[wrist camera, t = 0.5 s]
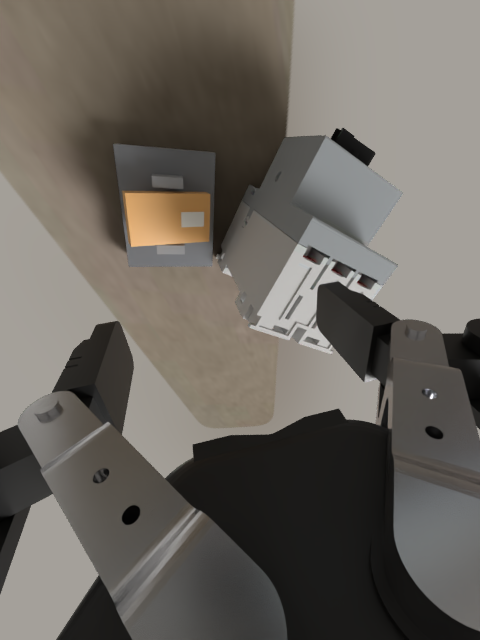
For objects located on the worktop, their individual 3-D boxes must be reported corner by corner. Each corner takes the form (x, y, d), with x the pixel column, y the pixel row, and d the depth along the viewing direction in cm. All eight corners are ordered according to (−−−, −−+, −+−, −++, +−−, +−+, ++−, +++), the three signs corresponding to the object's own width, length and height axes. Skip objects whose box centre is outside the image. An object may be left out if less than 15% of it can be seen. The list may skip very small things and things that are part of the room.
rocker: (120, 189, 22) (125, 193, 21) (202, 190, 25) (211, 194, 24) (127, 240, 24) (131, 247, 23) (202, 236, 27) (209, 242, 26)
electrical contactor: (339, 160, 29) (467, 173, 17) (270, 280, 35) (329, 356, 22) (279, 118, 26) (382, 96, 14) (215, 256, 32) (247, 330, 19)
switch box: (118, 143, 24) (108, 143, 20) (210, 151, 26) (219, 153, 22) (132, 256, 30) (126, 274, 25) (208, 256, 31) (214, 273, 27)
